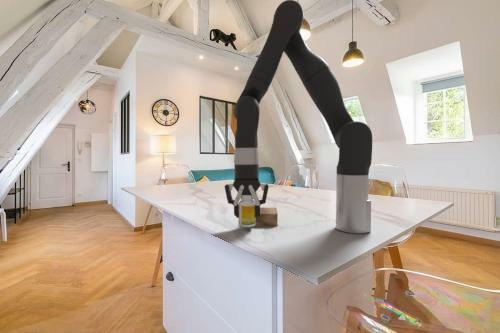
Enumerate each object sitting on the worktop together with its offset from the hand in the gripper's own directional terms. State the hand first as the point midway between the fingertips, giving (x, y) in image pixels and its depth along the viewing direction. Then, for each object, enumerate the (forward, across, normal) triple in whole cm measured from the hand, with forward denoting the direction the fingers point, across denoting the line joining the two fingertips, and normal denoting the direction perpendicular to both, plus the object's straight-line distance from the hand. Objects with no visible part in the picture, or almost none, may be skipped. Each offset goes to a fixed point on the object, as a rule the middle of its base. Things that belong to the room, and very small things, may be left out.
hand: (247, 216), depth 73 cm
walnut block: (+4, -5, -9) cm, 11 cm away
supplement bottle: (+3, 0, 0) cm, 3 cm away
